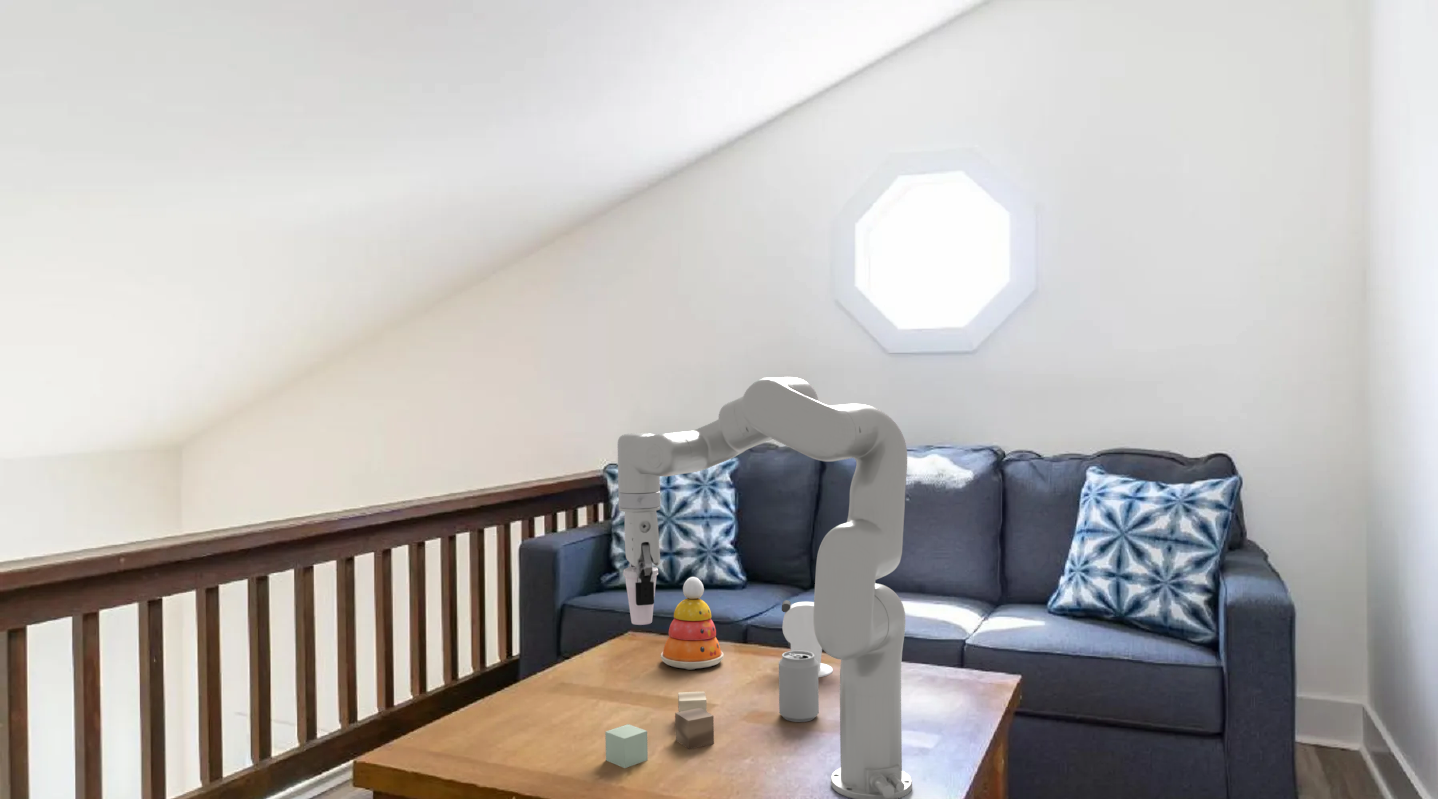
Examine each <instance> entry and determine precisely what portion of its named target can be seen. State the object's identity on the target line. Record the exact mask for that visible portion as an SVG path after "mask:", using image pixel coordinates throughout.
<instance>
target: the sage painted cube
mask: <svg viewBox="0 0 1438 799" xmlns="http://www.w3.org/2000/svg"><path fill="white" fill-rule="evenodd" d="M604 732H605V733H604V734H605V736H604V737H605V761H607V762H609V763H610V764H611V763H612V764H614V765H615V766H619V767H620V768H623V769H626V768H628V767H632V766H635V765H637V764H640V763H643V762H646V761H648V758H649V757H648V749H649V748H648V730H646V729H643V728H640V727H638V726H635V725H632V724H630V723H627V724H625V725H622V726H618V727H615V728H613V729H609V730H606V731H604Z"/></svg>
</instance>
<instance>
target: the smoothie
mask: <svg viewBox="0 0 1438 799" xmlns="http://www.w3.org/2000/svg"><path fill="white" fill-rule="evenodd" d="M638 560H639V559H638ZM639 565H640V563H639ZM642 570H643V569H640V573H641V571H642ZM652 570H653V582H654V598H655V594H656V585H657V576H658V575H659V569H658V567H657V566H652ZM622 575H623V577H624V578H625V579H624V580H625V586H626V592H627V601H628V608H629V613H630V614H629V615H630V621H631V624H632V625H638V626H642V625H643V626H644V625H650V624H651V623H652V622H653V617H654V616H653V615H654V604H655V603H654V604H652V605H639V606H638V605H637V604H636V584H635V583H637V573H636V567H629V566H628V567H626V568H623V573H622ZM652 624H653V623H652Z"/></svg>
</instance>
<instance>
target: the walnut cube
mask: <svg viewBox="0 0 1438 799" xmlns="http://www.w3.org/2000/svg"><path fill="white" fill-rule="evenodd" d="M674 714H675V716H674V718H675V719H674V720H675V724H674V725H675V726H674V727H675V730H674V732H675V741H677V742H678V743H679V744H681V745H682V746H684V747H685V748H686V749H688V750H691V749H695V748H700V747H705V746H709V745H713V744H715V733H714V732H715V730H714V728H715V725H714V723H715V722H714V720H715V718H714V717H715V716H714V715H713V714H711V713H709V712H708V711H707V712H706V711H704V710H703V709H701V708H697V709H692V710H687V711H682V712H679V711H677V712H675V713H674Z"/></svg>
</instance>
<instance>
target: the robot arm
mask: <svg viewBox="0 0 1438 799" xmlns="http://www.w3.org/2000/svg"><path fill="white" fill-rule="evenodd" d="M771 440H774V441H776V442H779V443H780V444H782V445H785V446H786V447H788V448H791V449H792V450H794V451H796V452H798V453H801V454H803V455H805V456H807V457H808V458H811V459H813V460H817V461H821V462H838V461H843V460H849V459H854V460H855V462H856V463H855V465H856V467H855V471H854V473H853V475H852V478H851V483H850V488H849V505H848V515H847V520H846V522H844V523H840V524H838V525H836V526H835V527H833V528H832V529H830V530H829V531H828V532H827V533H826V534H825V535H824V537H823V539H822V541H821V543H820V545H819V548H818V551H817V555H816V556H817V557H816V564H815V580H814V583H815V584H814V593H813V594H814V598H813V602H814V612H813V624H814V631H815V635H816V638H817V641H818V643H819V645H820V646H821V648H822V649H823V651H824V652H825V653H826V654H827V655H828V656H829V657H831V658H833V659H837V660H840V665H839V667H840V668H839V727H840V728H839V730H840V731H839V734H840V735H839V741H840V742H839V743H840V767H838V769H835V771H833V772H832V774H831V775H830V785H831V787H832V789H833V790H834V791H836V792H837V794H840V795H841V796H843V797H846V798H849V799H901V798H903V797H905V796H907V795H908V794H909V793H910V792H911V791H912V789H913V780H912V777H911V776H910V774H908V773H907V772H905V771H904V770H903V763H902V762H903V755H902V753H903V752H902V751H903V750H902V749H903V748H902V747H903V746H902V745H903V744H902V741H903V740H902V738H903V737H902V662H903V661H902V658H903V648H904V640H905V632H906V611H905V608H904V604H903V601H902V600H901V598H900V596H899V595H898V594H897V593H896V592H895V591H894V590H893V589H891V588H890V587H888V586H887V585H884V584H881V583H876V581H877V580H878V579H881V578H883V577H886V576H888V575H889V574H891V573H893V572H894V571H895V570H896V569H897V568H898V566H899V565H900V563H901V559H902V555H903V541H904V527H905V526H904V525H905V524H904V523H905V522H904V521H905V506H906V502H905V501H906V500H905V498H906V487H907V486H906V484H907V471H908V448H907V443H906V440H905V437H904V435H903V432H902V430H901V429H900V427H899V426H898V424H897V423H896V422H895V420H894V419H893V418H891V417H890V416H889V415H888V414H886V413H885V412H884V411H882V410H880V409H879V408H877V407H874V406H872V405H867V404H862V403H845V404H833V405H829V404H825V403H822V402H821V401H819V397H818V395H817V392H816V390H815V389H814V387H813V386H812V384H810V383H809V382H807V381H806V380H804V379H802V378H799V377H793V376H784V377H783V376H782V377H778V376H777V377H775V376H774V377H763V378H760V379H758V380H757V381H755V382H753V383H752V384H751V385H750V386H749V387H748V388H747V389H746V390H745V392H744V394H743V396H741V397H739V398H736V399H734V400H732V401H730V402H727V403H725V404H724V405H723V406H721V408H720V410H719V413H718V419H716V420H715V421H712V422H710V423H708V424H705V425H703V426H701V427H699V428H696V429H692V430H688V431H675V432H673V431H672V432H668V433H659V434H657V433H656V434H654V433H649V432H633V433H625V434H622V435H620V436H619V438H618V440H617V476H618V478H617V482H618V483H617V484H618V488H617V489H618V511H620V512H623V513H624V550H625V551H624V552H625V558H626V560H627V562H628V563H629V566H628V568H629V567H636V573H637V583H635V584H636V604H637V605H638V606H639V605H652V604H655V597H654V582H653V570H652V567H653V565H655V567H657V566H659V565H660V563H661V554H660V553H661V551H660V550H661V548H660V535H659V532H660V531H659V523H658V514H657V511H659V510H660V511H661V483H660V482H661V477H671V476H678V475H683V474H691V473H698V472H701V471H705V470H707V469H709V468H711V467H714V466H717V465H719V464H722V463H724V462H727V461H730V460H731V459H733V458H735V457H737V456H738V455H741V454H743V453H745V451H747V450H750V449H752V448H753V447H757V446H759V445H762V444H764V443H766V442H768V441H771ZM638 559H639V560H638ZM639 563H640V565H639ZM640 569H643V570H642V571H641V573H640Z"/></svg>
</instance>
